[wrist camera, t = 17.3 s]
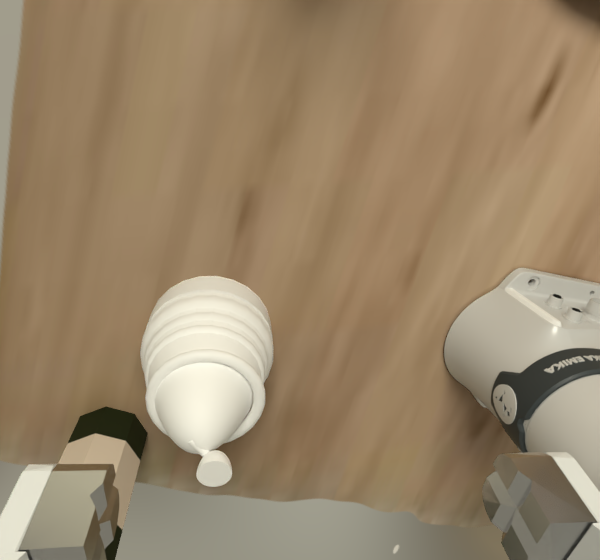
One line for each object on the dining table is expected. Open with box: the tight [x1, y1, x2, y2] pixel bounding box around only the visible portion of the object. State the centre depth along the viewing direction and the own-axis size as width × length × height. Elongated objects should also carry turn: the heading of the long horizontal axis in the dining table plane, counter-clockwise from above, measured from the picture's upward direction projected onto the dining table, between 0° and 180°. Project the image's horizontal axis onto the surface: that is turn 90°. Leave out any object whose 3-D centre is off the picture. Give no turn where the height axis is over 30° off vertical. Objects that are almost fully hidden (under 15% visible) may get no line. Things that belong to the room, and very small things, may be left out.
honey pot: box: [140, 276, 273, 487], centre depth 40 cm, size 13×13×18 cm
